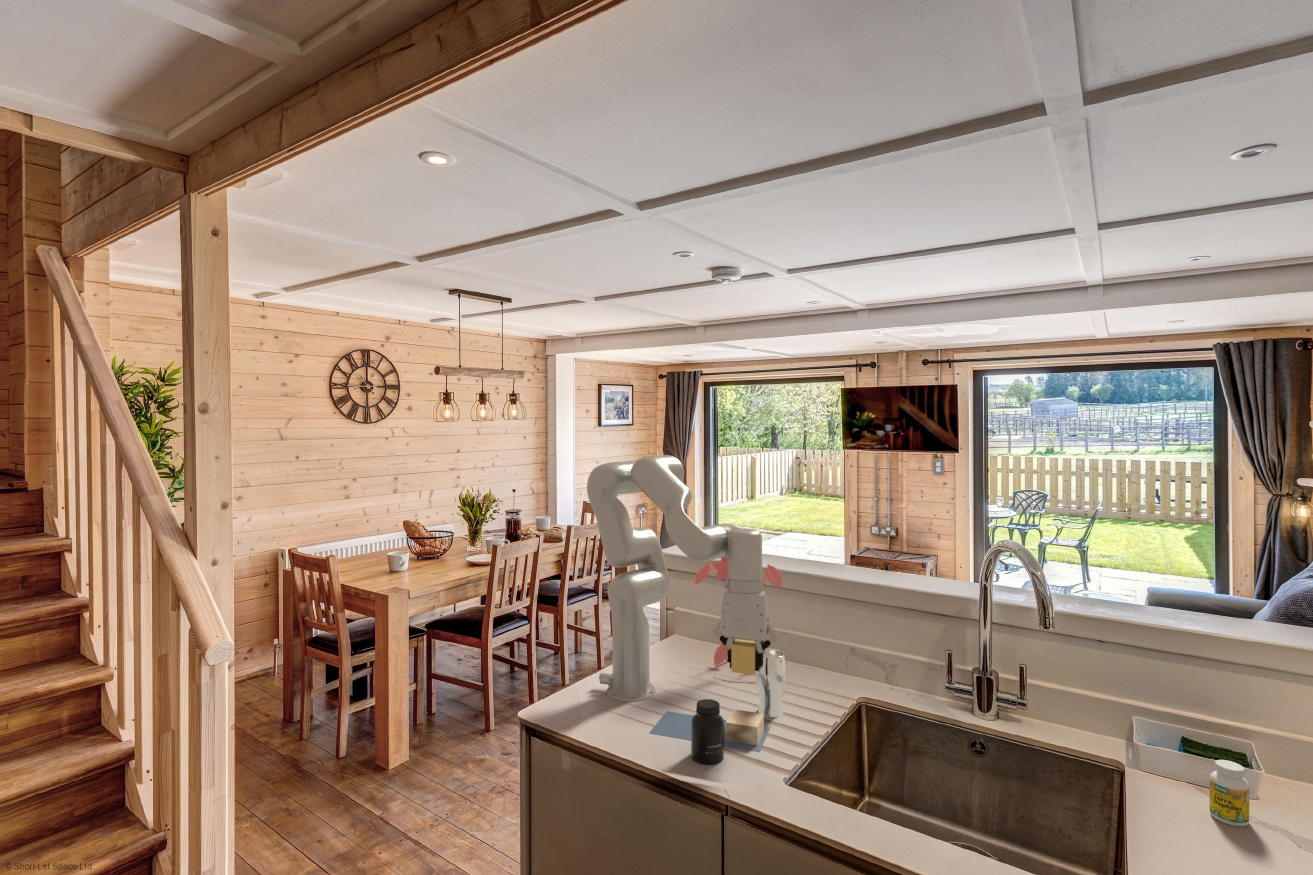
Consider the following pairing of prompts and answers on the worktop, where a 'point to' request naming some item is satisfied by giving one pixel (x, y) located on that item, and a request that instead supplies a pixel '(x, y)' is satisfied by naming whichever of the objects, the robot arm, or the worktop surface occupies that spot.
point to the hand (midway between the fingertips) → (745, 666)
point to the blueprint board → (681, 728)
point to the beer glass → (771, 682)
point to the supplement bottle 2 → (1229, 793)
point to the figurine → (722, 573)
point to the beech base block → (745, 727)
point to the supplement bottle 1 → (707, 733)
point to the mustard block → (743, 656)
